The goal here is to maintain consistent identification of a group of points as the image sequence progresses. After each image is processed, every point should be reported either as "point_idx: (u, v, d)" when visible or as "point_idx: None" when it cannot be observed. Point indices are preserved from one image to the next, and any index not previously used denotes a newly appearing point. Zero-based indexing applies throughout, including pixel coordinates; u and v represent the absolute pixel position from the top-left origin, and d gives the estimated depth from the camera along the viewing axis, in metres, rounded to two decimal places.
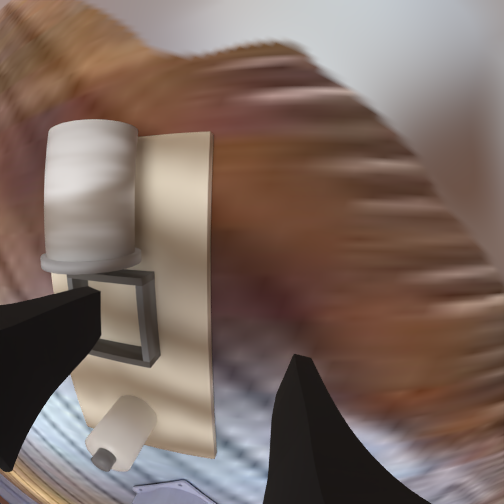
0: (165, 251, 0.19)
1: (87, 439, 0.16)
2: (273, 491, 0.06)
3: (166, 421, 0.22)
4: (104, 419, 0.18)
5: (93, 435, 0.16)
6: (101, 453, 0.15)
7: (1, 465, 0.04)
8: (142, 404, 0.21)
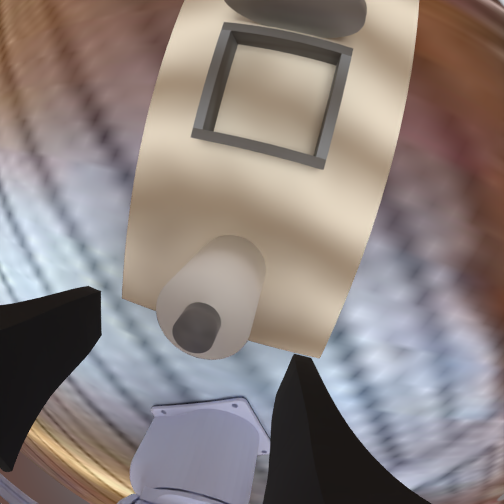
0: (366, 46, 0.12)
1: (171, 284, 0.11)
2: (273, 491, 0.06)
3: (278, 286, 0.17)
4: (203, 255, 0.13)
5: (192, 272, 0.11)
6: (201, 311, 0.11)
7: (1, 465, 0.04)
8: (255, 249, 0.16)
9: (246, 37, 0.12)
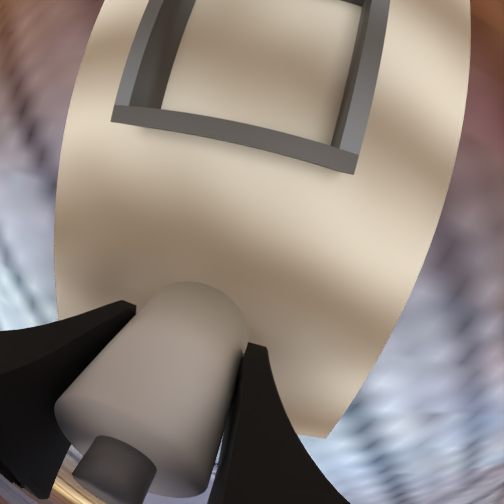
0: None
1: (63, 402, 0.05)
2: (215, 479, 0.06)
3: None
4: (128, 338, 0.07)
5: (89, 394, 0.05)
6: (112, 461, 0.04)
7: (37, 494, 0.04)
8: (230, 308, 0.10)
9: None
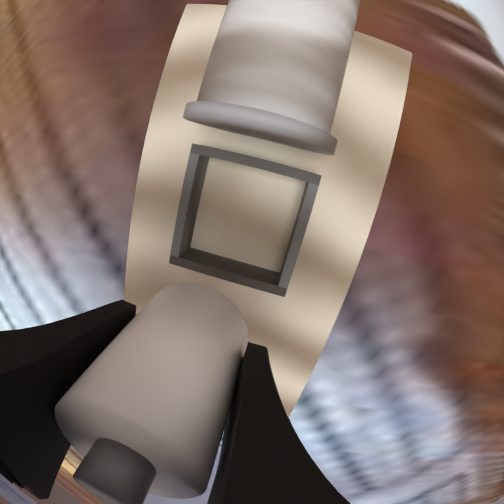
0: (340, 154, 0.15)
1: (63, 405, 0.05)
2: (215, 479, 0.06)
3: None
4: (127, 341, 0.07)
5: (89, 398, 0.05)
6: (112, 463, 0.04)
7: (37, 494, 0.04)
8: (229, 309, 0.10)
9: None
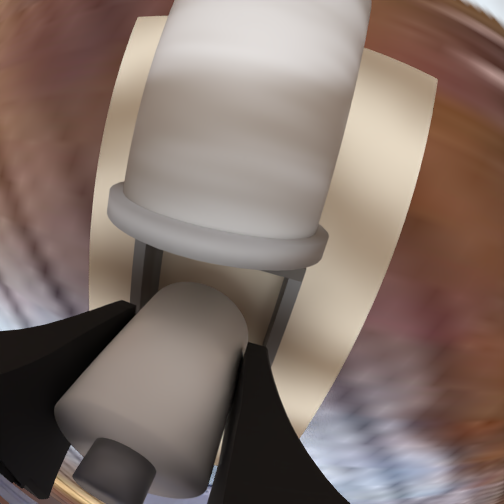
0: (334, 226, 0.12)
1: (63, 405, 0.05)
2: (215, 479, 0.06)
3: None
4: (127, 340, 0.07)
5: (88, 397, 0.05)
6: (112, 463, 0.04)
7: (37, 494, 0.04)
8: (230, 308, 0.10)
9: None
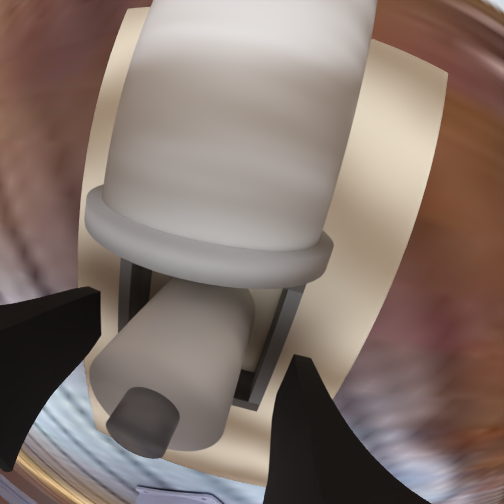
0: (338, 231, 0.11)
1: (101, 358, 0.06)
2: (273, 491, 0.06)
3: (227, 451, 0.16)
4: (156, 306, 0.08)
5: (128, 346, 0.06)
6: (144, 406, 0.06)
7: (1, 465, 0.04)
8: None
9: None
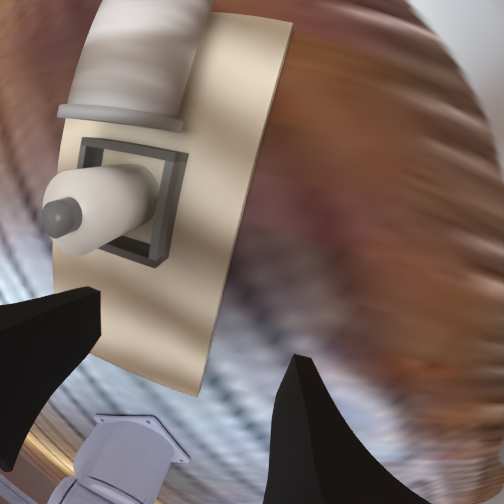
0: (209, 132, 0.15)
1: (51, 184, 0.11)
2: (273, 491, 0.06)
3: (153, 342, 0.20)
4: None
5: (64, 171, 0.11)
6: (63, 200, 0.11)
7: (1, 465, 0.04)
8: (147, 173, 0.16)
9: None
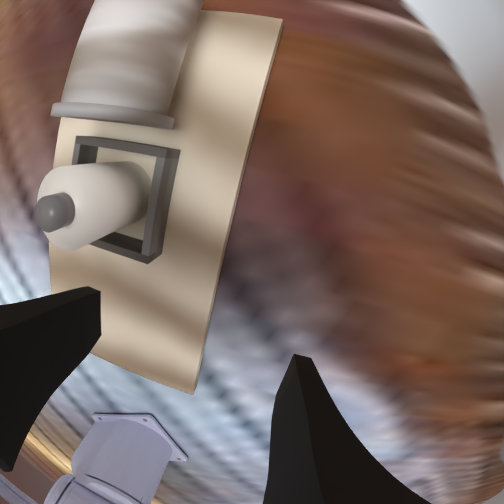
0: (200, 128, 0.15)
1: (44, 180, 0.11)
2: (273, 491, 0.06)
3: (148, 339, 0.20)
4: None
5: (57, 167, 0.11)
6: (56, 195, 0.11)
7: (1, 465, 0.04)
8: (140, 169, 0.16)
9: None
